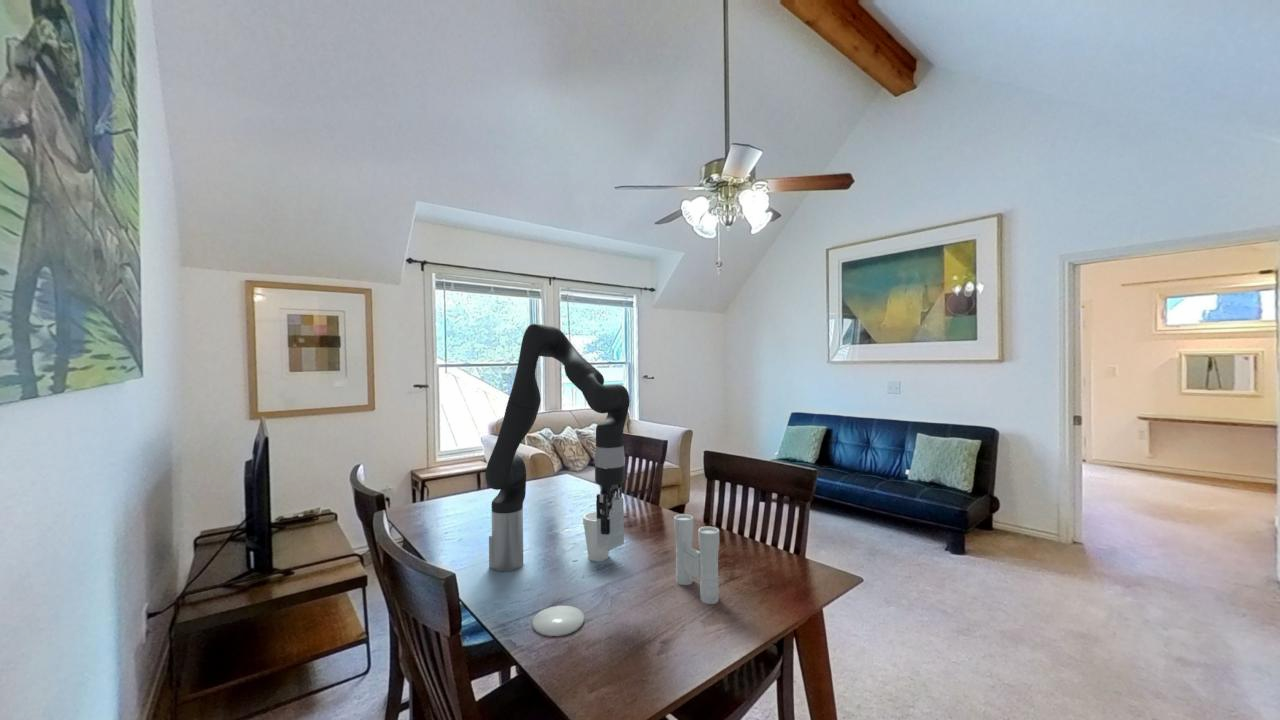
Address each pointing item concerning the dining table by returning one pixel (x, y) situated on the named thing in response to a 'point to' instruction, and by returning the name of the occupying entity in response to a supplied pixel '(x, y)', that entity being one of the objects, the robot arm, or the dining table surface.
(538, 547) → the dining table surface
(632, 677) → the dining table surface
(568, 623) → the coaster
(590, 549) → the foam cup
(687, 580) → the binoculars
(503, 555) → the robot arm
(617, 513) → the skincare box
